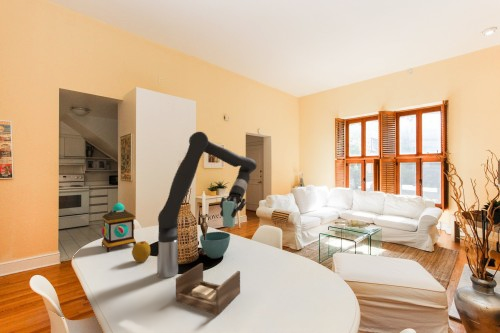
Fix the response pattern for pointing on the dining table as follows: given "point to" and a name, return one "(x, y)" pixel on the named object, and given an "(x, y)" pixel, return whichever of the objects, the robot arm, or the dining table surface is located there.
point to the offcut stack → (204, 293)
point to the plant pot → (215, 244)
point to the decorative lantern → (118, 227)
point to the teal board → (228, 213)
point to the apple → (141, 251)
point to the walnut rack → (223, 291)
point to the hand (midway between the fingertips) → (227, 216)
